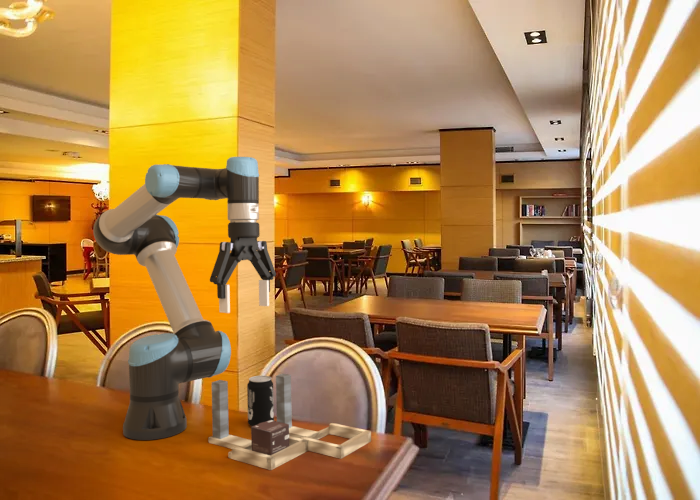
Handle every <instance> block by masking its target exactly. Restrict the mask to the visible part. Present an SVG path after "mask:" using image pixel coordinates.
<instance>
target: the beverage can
mask: <svg viewBox="0 0 700 500" xmlns="http://www.w3.org/2000/svg"><path fill="white" fill-rule="evenodd" d="M246 388H247V424H248V425H249V426H250V428H251V427H252V426H255V425H257V424H259V423H262V422H266V421H269V420H273V421H275V419H274V418H275V416H274V415H275V414H274V413H275V412H274V411H275V407H274V406H275V405H274V401H275V400H274V382H273V381H272V377H271V376H269V375H255V376H251V377H248V382H247V386H246Z"/></svg>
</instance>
